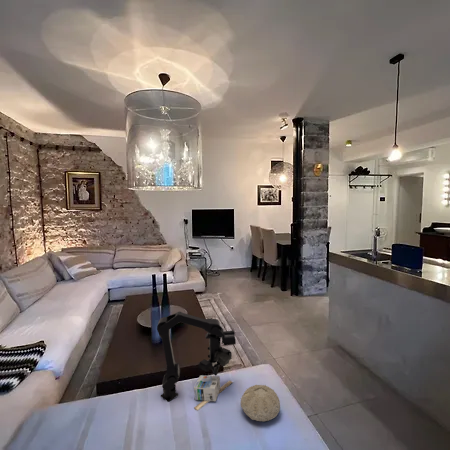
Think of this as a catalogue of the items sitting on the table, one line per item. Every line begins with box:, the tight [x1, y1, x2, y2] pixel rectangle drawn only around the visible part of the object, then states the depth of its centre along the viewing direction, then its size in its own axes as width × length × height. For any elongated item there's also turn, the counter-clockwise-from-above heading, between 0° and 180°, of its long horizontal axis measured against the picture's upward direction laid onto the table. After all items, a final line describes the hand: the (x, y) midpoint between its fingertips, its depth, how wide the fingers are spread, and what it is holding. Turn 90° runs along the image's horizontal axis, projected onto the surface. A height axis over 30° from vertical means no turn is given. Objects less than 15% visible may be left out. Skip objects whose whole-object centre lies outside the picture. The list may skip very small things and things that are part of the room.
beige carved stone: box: [240, 384, 281, 422], centre depth 125 cm, size 18×18×10 cm
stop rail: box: [193, 380, 234, 411], centre depth 137 cm, size 2×26×1 cm, turn 139°
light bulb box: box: [193, 374, 221, 402], centre depth 137 cm, size 11×7×11 cm
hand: (215, 375), depth 139 cm, fingers closed
